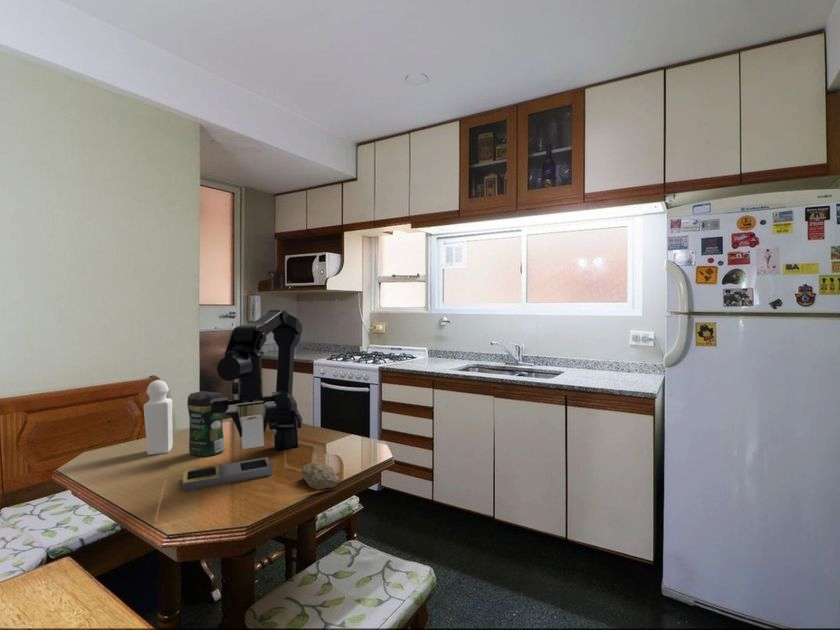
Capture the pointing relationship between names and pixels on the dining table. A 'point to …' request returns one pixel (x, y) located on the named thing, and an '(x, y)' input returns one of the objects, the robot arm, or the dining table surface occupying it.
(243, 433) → the square slider block
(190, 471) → the grey socket board
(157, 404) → the white bottle
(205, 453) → the coffee jar
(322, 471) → the rock
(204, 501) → the dining table surface
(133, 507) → the dining table surface
